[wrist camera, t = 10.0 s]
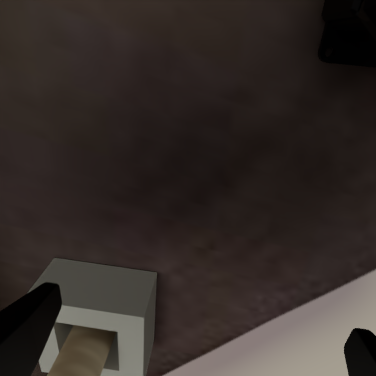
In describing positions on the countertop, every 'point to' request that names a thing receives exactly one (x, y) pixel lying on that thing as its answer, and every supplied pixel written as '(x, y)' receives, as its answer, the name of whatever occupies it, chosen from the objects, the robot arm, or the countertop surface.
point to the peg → (83, 352)
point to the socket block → (104, 311)
